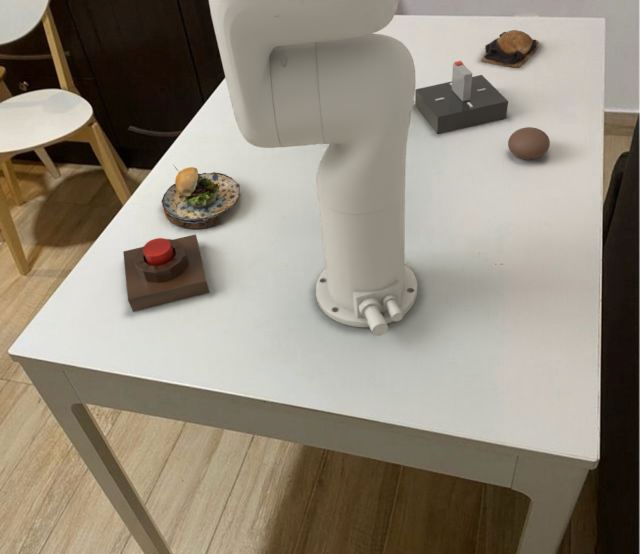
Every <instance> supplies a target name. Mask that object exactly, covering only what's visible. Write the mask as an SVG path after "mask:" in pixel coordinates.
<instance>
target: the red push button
mask: <svg viewBox="0 0 640 554" xmlns="http://www.w3.org/2000/svg"><path fill="white" fill-rule="evenodd" d="M167 239H168V238H163V237H158V238H153V239H151V240H149V241H147V242H146V243H145V244H144V245H143V246H144V247H143V246H142V247H143V253H144V255H145V258H146V261H147V263H148V264H149V265H152V266H159V265H163V264H166V263H168V262H169V261H171V260H172V259H173V258H174V252H173V249H172V246H171V243H170V241H169V240H167Z"/></svg>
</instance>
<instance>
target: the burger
mask: <svg viewBox="0 0 640 554" xmlns="http://www.w3.org/2000/svg"><path fill="white" fill-rule="evenodd" d="M172 166H173V167H174V169H175V170H176V171H177V172H178V173H177V174H176V177H175V180H174V181H175V182H174V183H173V184H172V185H170V187H168V189H166V191H165V193H163V197H162V198H161V205H162V207H163V214H164V216H165V218H166V219H167V220H168V221H169V222H170V223H172V224H173V225H175V226H179V227H181V228H186V229H203V228H206V227H209V226H210V227H213V226H215V225H217V224H218V221H219V218H220V216H222V215H223V214H226V213H227V212H229V211H230V210H231V209H232V208H233V206H234V205H235V204H236V203H237V202H238V200H239V198H240V195H241V186H240V184H239V183H238V182H237V181H236V180H234V178H232V177H231V176H229V175H227V174H226V173H221V172H216V171H213V172H210V173H207V172H202V173H199V171H198V168H197V167H193V166H191V167H185V168H183V169H181V170H178V168H176V166H174V164H172Z"/></svg>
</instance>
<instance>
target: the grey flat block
mask: <svg viewBox="0 0 640 554" xmlns="http://www.w3.org/2000/svg"><path fill="white" fill-rule="evenodd" d="M472 77H473V72H472V71H471V70H470V69H469V68H468V67H467V66H466V65H465V64H464V62H463V61H462V60H458V61H454V62H453V63H452V74H451V81H452V91H453V92H454V93H455V94H456V95H457V96H458V97H459V98H460V99H461V101H467V100H470V97H471V85H472Z"/></svg>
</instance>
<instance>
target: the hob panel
mask: <svg viewBox="0 0 640 554" xmlns="http://www.w3.org/2000/svg"><path fill="white" fill-rule="evenodd" d="M414 106H415V108H416V109H417V110H418V111H419V112H420V114H421V115H422V117H423V118H424V119H425V121H426V122H427V123H428V124H429V126H430V127H431V128H432V129H433V130H434V132H435V133H436V134H437V135H439V134H443V133H447V132H452V131H456V130H457V131H458V130H461V129H464V128H469V127H470V128H471V127H473V126H478V125H483V124H487V123H491V122H495V121H500V120H504V119H507V115H508V108H509V107H508V106H509V100H508V99H507V98H506V97H505V96H504V95H503V94H502V93H501V92H500V91H499V90H498V89H497V88H496V87H495V86H494V85H493V84H492V83H491V82H489V80H488V79H486V77H485V76H484V75H482V74H479V75H475V76H472V85H471V97H470V100H467V101H461V99H460V98H459V97H458V96H457V95H456V94H455V93H454V92H453V91H452V80H451V81H447V82H443V83H439V84H433V85H429V86H424V87H421V88H415V94H414Z"/></svg>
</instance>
